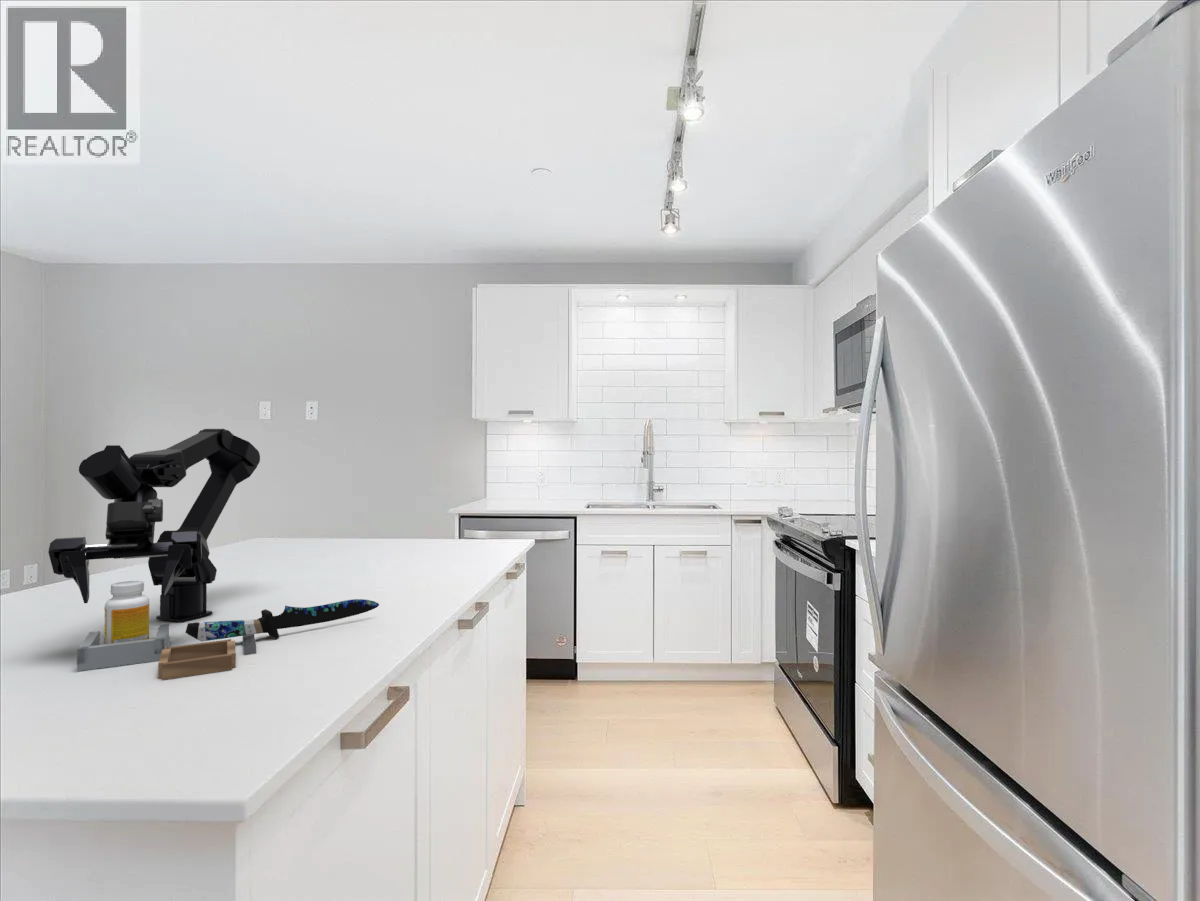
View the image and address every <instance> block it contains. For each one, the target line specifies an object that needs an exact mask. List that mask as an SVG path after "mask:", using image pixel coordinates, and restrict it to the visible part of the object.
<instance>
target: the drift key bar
mask: <svg viewBox="0 0 1200 901" xmlns="http://www.w3.org/2000/svg"><path fill="white" fill-rule="evenodd" d="M242 648H243V655H244V654H246V655H252V654H251V653H253V654H257V644H256V639H255V634H252V635H245V636H242Z"/></svg>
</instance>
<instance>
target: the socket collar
mask: <svg viewBox="0 0 1200 901" xmlns="http://www.w3.org/2000/svg"><path fill="white" fill-rule="evenodd" d="M236 654H237V652H236V640H232V639H231V638H230V639H229V638H228V639H220V640H212V641H205V642H197V643H190V644H184V645H175V646H168V647H167V649H164V650H162V653H161V656H160V659H159V661H158V665H157V666H158V667H157V672H158V674H157V679H161V680H162V681H163V680H164V681H165V680H166V681H167V680H173V679H177V678H179V679H180V678H184V677H191V676H199V674H200V675H204V674H205V675H206V673H207V674H211V673H212V672H213V673H218V672H219V671H220V672H226V671H225V670H227V671H232V670H233V668H236V663H237V662H236V659H237V657H236V656H237V655H236ZM213 673H212V674H213Z"/></svg>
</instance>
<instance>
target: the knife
mask: <svg viewBox="0 0 1200 901" xmlns="http://www.w3.org/2000/svg"><path fill="white" fill-rule="evenodd" d="M379 606H380V603H379V602H376V601H374V600H370V599H361V598H360V599H358V598H354V599H347V600H340V601H338V602H332V603H326V604H321V605H315V606H307V607H301V606H300V607H299V606H298V607H297V606H289V605H285V606H284V610H283V611H282V613H280V614H278V615H273V612H272V611H270V610H268V609H266V608H265V609H263V610H261V611H260V613H261V617H259V618H256V619H241V620H240V619H239V620H238V619H237V620H219V621H218V620H216V621H199V622H198V621H197V622H196V621H195V622H188V623H187V626H186V629H185V633H186V634H187V635H189V636H190V637H192V638H194V639H195V640H197V641H199V642H200V643H204V642H211V641H218V640H225V639H229V638H230V639H231V638H237V637H243V636H245V635H252V634H254V635H259V634H268V636H269V637H271V638H272V639H274V638H275V639H274V640H277V639H278V638H280V634H279V631H278V630H281V629H282V630H284V629H288V628H290V629H291V628H298V627H299V628H300V627H304V626H309V625H311V626H312V625H315V624H316V625H317V624H320V623H321V624H322V623H326V622H327V623H328V622H331V621H337V620H342V619H345V618H350V617H354V616H357V615H361V614H364V613H368V612H369V611H372V610H374V609H377V608H378V607H379Z"/></svg>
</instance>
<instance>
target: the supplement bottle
mask: <svg viewBox="0 0 1200 901" xmlns="http://www.w3.org/2000/svg"><path fill="white" fill-rule="evenodd" d="M144 583H145V582H144V581H142V580H130V581H119V582H114V583H112V584H110V591H109V592H110V595H111V596H112V597H111V598H110V599H109V598H108V600H106V602H105V603H104V636H103V638H104V639H103V640H104V641H103V644H112V643H121V642H129V641H137V640H146V639H150V598H149V597H148V596H147V595H144V594H143V592H144V591H145V590H144V589H145V584H144Z"/></svg>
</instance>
